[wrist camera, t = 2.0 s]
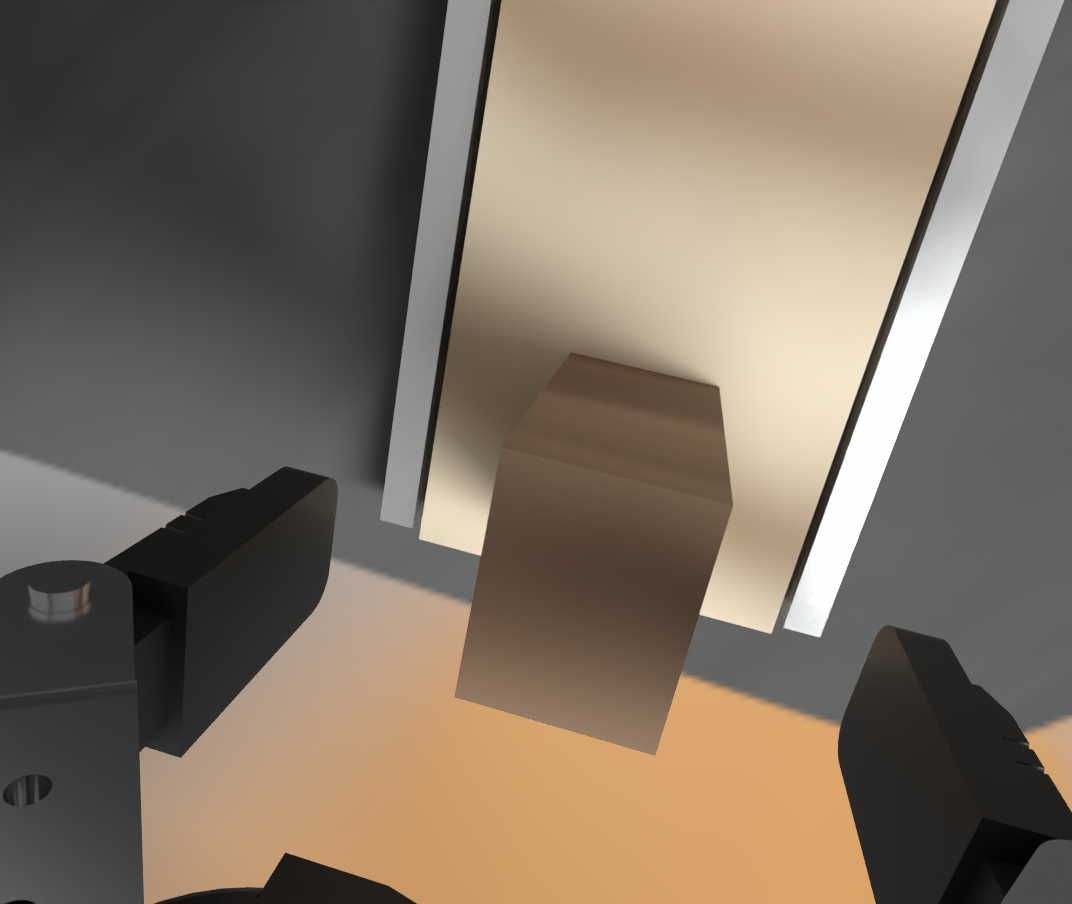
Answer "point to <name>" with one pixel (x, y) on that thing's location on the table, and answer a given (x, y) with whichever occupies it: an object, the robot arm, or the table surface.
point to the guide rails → (902, 338)
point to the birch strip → (670, 321)
